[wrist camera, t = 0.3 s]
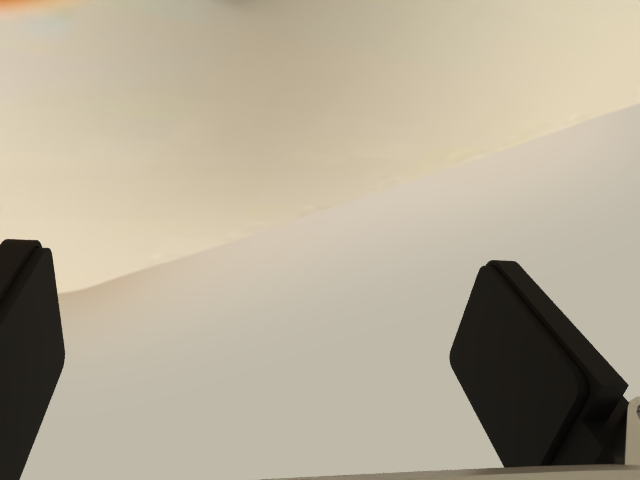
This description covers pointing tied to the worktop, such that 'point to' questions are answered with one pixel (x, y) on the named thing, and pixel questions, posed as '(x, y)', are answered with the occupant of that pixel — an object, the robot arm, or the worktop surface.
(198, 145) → the worktop surface
